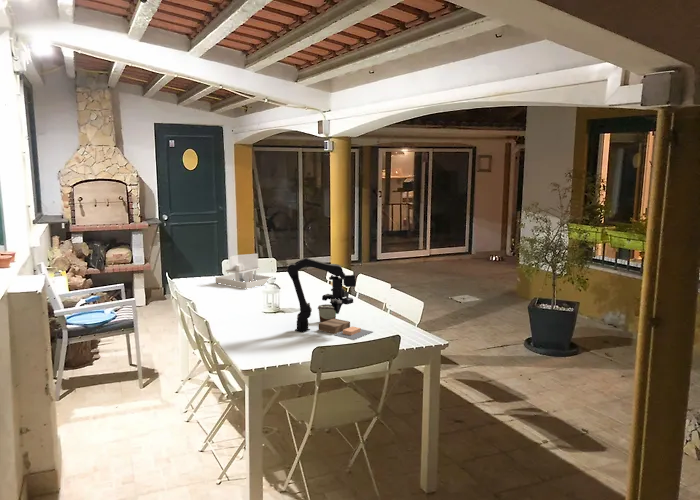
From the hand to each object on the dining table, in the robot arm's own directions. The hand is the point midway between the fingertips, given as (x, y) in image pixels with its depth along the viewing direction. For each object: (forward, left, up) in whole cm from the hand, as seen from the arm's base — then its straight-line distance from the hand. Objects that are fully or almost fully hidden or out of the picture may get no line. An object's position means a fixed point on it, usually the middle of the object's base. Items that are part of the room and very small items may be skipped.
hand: (337, 313), depth 319 cm
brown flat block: (0, +2, -10) cm, 10 cm away
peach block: (0, -10, -7) cm, 12 cm away
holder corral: (+57, +140, -10) cm, 152 cm away
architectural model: (+57, +140, -10) cm, 152 cm away
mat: (0, -12, -10) cm, 15 cm away
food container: (+11, +15, -10) cm, 21 cm away
